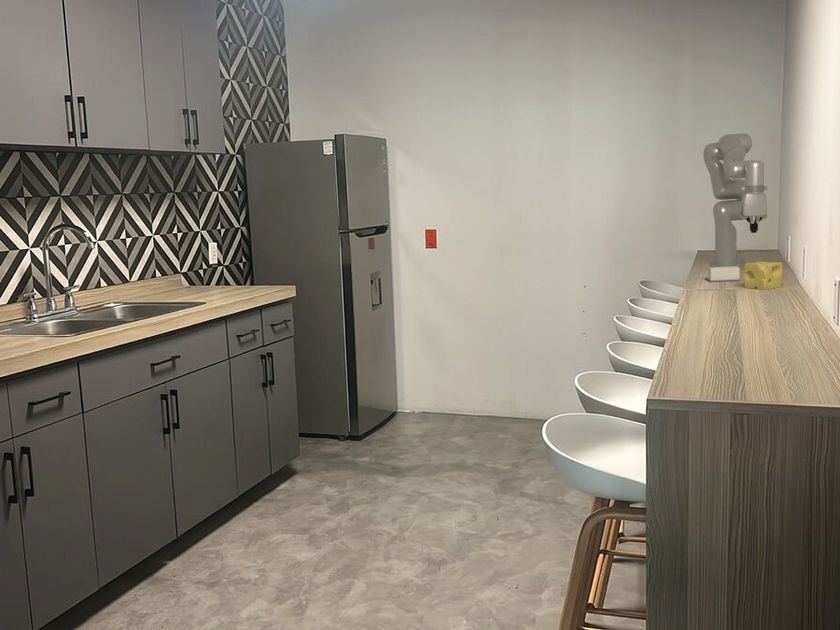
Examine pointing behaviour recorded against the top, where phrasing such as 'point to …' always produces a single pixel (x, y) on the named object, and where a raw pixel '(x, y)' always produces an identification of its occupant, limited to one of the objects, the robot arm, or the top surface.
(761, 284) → the cheese
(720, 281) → the mat
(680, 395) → the top surface
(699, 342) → the top surface
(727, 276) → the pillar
